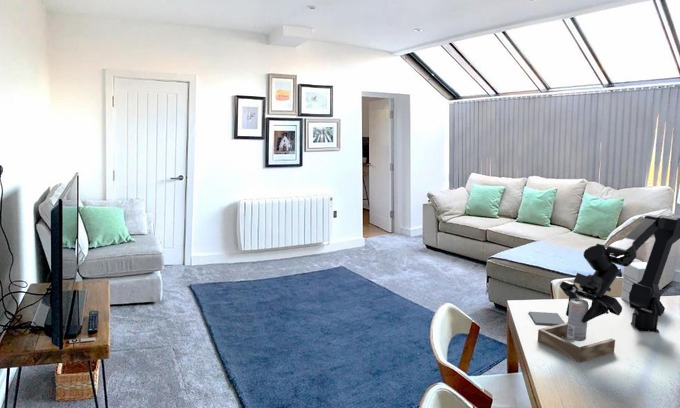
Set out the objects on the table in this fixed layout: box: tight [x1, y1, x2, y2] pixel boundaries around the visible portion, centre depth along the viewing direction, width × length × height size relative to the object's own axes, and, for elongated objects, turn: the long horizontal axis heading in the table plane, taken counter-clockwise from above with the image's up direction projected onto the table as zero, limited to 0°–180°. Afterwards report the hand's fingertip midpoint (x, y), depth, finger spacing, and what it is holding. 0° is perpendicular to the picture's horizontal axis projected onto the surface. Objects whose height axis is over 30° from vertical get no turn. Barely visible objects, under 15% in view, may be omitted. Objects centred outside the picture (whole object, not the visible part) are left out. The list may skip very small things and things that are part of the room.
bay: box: [537, 321, 616, 363], centre depth 151 cm, size 15×15×4 cm
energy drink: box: [566, 298, 590, 342], centre depth 150 cm, size 5×5×12 cm
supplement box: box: [620, 261, 661, 304], centre depth 188 cm, size 9×9×15 cm
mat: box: [528, 311, 566, 326], centre depth 173 cm, size 10×10×1 cm
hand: (574, 318), depth 150 cm, fingers closed on energy drink, 5 cm apart
